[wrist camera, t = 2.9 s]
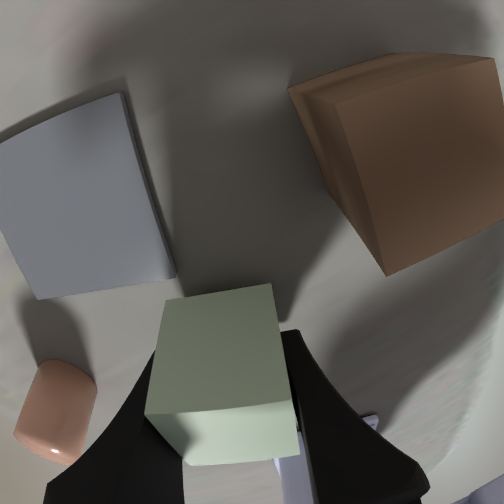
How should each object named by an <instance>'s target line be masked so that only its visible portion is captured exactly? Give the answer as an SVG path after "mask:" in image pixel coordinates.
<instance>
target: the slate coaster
mask: <svg viewBox="0 0 504 504" xmlns="http://www.w3.org/2000/svg"><path fill="white" fill-rule="evenodd" d="M0 229H1V231H2V234H3V236H4V238H5V240H6V242H7V244H8V246H9V248H10V250H11V252H12V254H13V256H14V258H15V260H16V262H17V264H18V266H19V268H20V270H21V272H22V273H23V275H24V277H25V279H26V281H27V282H28V284H29V286H30V288H31V290H32V291H33V293H34V295H35V296H36V298H37V300H42V299H48V298H55V297H61V296H67V295H74V294H80V293H86V292H93V291H99V290H105V289H111V288H117V287H124V286H130V285H136V284H142V283H148V282H154V281H160V280H166V279H172V278H176V273H177V271H176V268H175V265H174V262H173V259H172V257H171V254H170V251H169V248H168V245H167V242H166V239H165V236H164V233H163V230H162V227H161V224H160V221H159V218H158V215H157V211H156V208H155V205H154V202H153V199H152V196H151V192H150V189H149V186H148V182H147V179H146V176H145V172H144V169H143V165H142V162H141V158H140V155H139V151H138V148H137V144H136V140H135V137H134V133H133V129H132V125H131V122H130V118H129V114H128V110H127V106H126V102H125V98H124V94H123V91H121V92H117V93H114V94H111V95H109V96H106V97H103V98H100V99H97V100H95V101H92V102H89V103H87V104H84V105H82V106H79V107H77V108H74V109H72V110H69V111H67V112H64V113H62V114H60V115H57V116H55V117H53V118H51V119H48V120H46V121H44V122H42V123H40V124H38V125H36V126H33V127H31V128H29V129H27V130H25V131H23V132H21V133H19V134H17V135H15V136H13V137H12V138H10V139H8V140H6V141H4V142H2V143H0Z"/></svg>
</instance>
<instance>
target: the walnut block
mask: <svg viewBox="0 0 504 504" xmlns="http://www.w3.org/2000/svg"><path fill="white" fill-rule="evenodd" d="M287 90H288V92H289V95H290V97H291V99H292V101H293V104H294V106H295V108H296V111H297V113H298V115H299V118H300V120H301V122H302V125H303V127H304V129H305V132H306V134H307V137H308V139H309V142H310V144H311V147H312V149H313V152H314V154H315V157H316V159H317V162H318V164H319V167H320V170H321V172H322V175H323V177H324V180H325V183H326V185H327V188H328V191H329V194H330V195H331V197H332V198H333V199H334V201H335V202H336V204H337V205H338V206H339V208H340V209H341V210H342V212H343V213H344V215H345V216H346V218H347V219H348V220H349V222H350V223H351V225H352V226H353V227H354V229H355V230H356V232H357V233H358V235H359V236H360V238H361V239H362V241H363V242H364V244H365V245H366V246H367V248H368V249H369V251H370V252H371V254H372V255H373V257H374V259H375V260H376V262H377V263H378V265H379V266H380V268H381V269H382V271H383V272H384V274H385V275H386V277H387V276H389V275H391V274H393V273H396V272H398V271H400V270H402V269H404V268H407V267H409V266H411V265H413V264H415V263H417V262H419V261H421V260H424V259H426V258H428V257H430V256H432V255H434V254H436V253H438V252H440V251H442V250H444V249H446V248H448V247H450V246H452V245H454V244H456V243H458V242H460V241H462V240H464V239H466V238H468V237H470V236H472V235H474V234H476V233H478V232H480V231H481V230H483V229H485V228H487V227H489V226H491V225H493V224H495V223H496V222H498V221H500V220H502V219H504V104H503V98H502V93H501V87H500V83H499V78H498V73H497V69H496V65H495V61H494V58H488V57H479V56H469V55H456V54H437V53H392V54H389V55H385V56H381V57H378V58H374V59H371V60H368V61H364V62H361V63H358V64H355V65H351V66H348V67H345V68H342V69H339V70H336V71H333V72H330V73H327V74H325V75H322V76H319V77H316V78H313V79H311V80H308V81H305V82H303V83H300V84H297V85H295V86H292V87H290V88H287Z"/></svg>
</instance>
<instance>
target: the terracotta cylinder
mask: <svg viewBox="0 0 504 504" xmlns="http://www.w3.org/2000/svg"><path fill="white" fill-rule="evenodd" d="M96 395H97V386H96V384H95V383H94V381H93V380H92V379H91V378H90V377H89V376H88V375H87V374H86V373H84V372H83V371H82V370H80V369H78V368H77V367H75V366H73V365H71V364H68V363H66V362H62V361H59V360H45V361H43V362H42V363H41V364H40V366H39V368H38V370H37V373H36V375H35V377H34V380H33V382H32V385H31V387H30V390H29V392H28V395H27V397H26V400H25V402H24V405H23V408H22V410H21V413H20V416H19V418H18V421H17V424H16V427H15V430H14V436H15V438H16V439H17V440H18V441H19V442H20V443H21V444H22V445H23V446H25V447H27V448H28V449H29V450H31V451H32V452H34V453H36V454H38V455H39V456H42V457H44V458H46V459H48V460H51V461H54V462H57V463H60V464H64V465H70V466H71V465H72V464H73V463H74V462H75V461H76V460H77V459H79V458H80V457H81V456H82V452H83V448H84V443H85V439H86V435H87V430H88V426H89V422H90V418H91V414H92V410H93V407H94V403H95V399H96Z"/></svg>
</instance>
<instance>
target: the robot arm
mask: <svg viewBox="0 0 504 504" xmlns="http://www.w3.org/2000/svg"><path fill="white" fill-rule="evenodd" d="M280 335H281V340H282V346H283V351H284V357H285V363H286V368H287V374H288V379H289V385H290V391H291V397H292V403H293V406H294V410H295V414H296V417H297V421H298V425H299V428H300V432H297V436H298V442H299V449H300V455H295V456H289V457H282V458H275V459H274V462H275V465H276V468H277V471H278V473H279V476H280V477H281V483H282V491H283V500H284V504H422V503H421V499H420V498H421V497H422V496H423V495H424V494H425V493H427V492H428V490H429V489H430V485H429V481H428V479H427V477H426V475H425V473H424V471H423V470H422V468H421V467H420V465H419V464H418V462H416V461H415V460H414V459H412V458H411V457H409V456H407V455H406V454H405V453H403V452H402V451H400V450H399V449H397V448H396V447H395V446H393V445H392V444H391V443H390V442H388V441H387V440H386V439H384V438H383V437H382V436H381V435H380V434H379V433H378V432H376V431H375V430H376V427H377V424H378V421H379V419H378V416H377V415H371V416H368V417H364V418H361V417H360V416H359V415H358V414H357V413H356V412H355V411H354V410H353V409H352V408H351V407H350V406H349V405H348V403H347V402H346V401H345V400H344V399H343V398H342V397H341V395H340V394H339V393H338V392H337V391H336V389H335V388H334V387H333V385H332V384H331V383H330V382H329V380H328V379H327V378H326V376H325V375H324V373H323V372H322V370H321V369H320V367H319V366H318V364H317V363H316V361H315V360H314V358H313V357H312V355H311V353H310V351H309V350H308V348H307V346H306V344H305V342H304V340H303V338H302V335H301V333H300V331H299V330H297V329H294V330H289V331H283V332H280ZM155 350H156V349H155ZM154 355H155V351H154V352H153V354H152V356H151V358H150V359H149V361H148V363H147V365H146V367H145V368H144V370H143V372H142V374H141V376H140V377H139V379H138V381H137V382H136V384H135V386H134V388H133V389H132V391H131V393H130V394H129V396H128V398H127V399H126V401H125V402H124V404H123V405H122V407H121V408H120V410H119V411H118V413H117V414H116V416H115V417H114V418H113V420H112V421H111V423H110V424H109V425H108V427H107V428H106V429H105V430H104V432H103V433H102V434H101V435H100V436H99V438H98V439H97V440H96V441H95V442H94V443H93V444H92V445H91V447H90V448H89V449H88V450H87V451H86V452H85V453H84V454H83V455H82V456H81V457H80V458H79V459H77V460H76V461H75V462H74V463H73V464H72V465H71V466H70V467H69V468H67V469H66V470H65V471H64V472H62V473H61V474H60V475H59V476H57V477H56V478H54V479H53V480H52V481H50V482H49V483H47V487H46V492H45V496H44V501H43V504H185V503H184V491H183V472H182V457H181V456H180V455H179V454H178V453H177V451H176V450H175V449H174V448H173V447H172V446H171V445H170V444H169V443H168V442H167V440H166V439H165V438H164V437H163V436H162V435H161V434H160V433H159V431H158V430H157V429H156V428H155V427H154V426H153V424H152V423H151V422H150V421H149V420H148V418H147V417H146V416H145V415H144V412H145V406H146V400H147V394H148V388H149V383H150V377H151V371H152V366H153V361H154ZM452 504H504V474H503V475H501V476H499V477H498V478H496V479H494V480H492V481H491V482H489V483H487V484H485V485H483V486H482V487H480V488H478V489H477V490H475V491H473V492H472V493H471V494H470V495H469V496H467V497H465V498H463V499H461V500H459V501H457V502H454V503H452Z"/></svg>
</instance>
